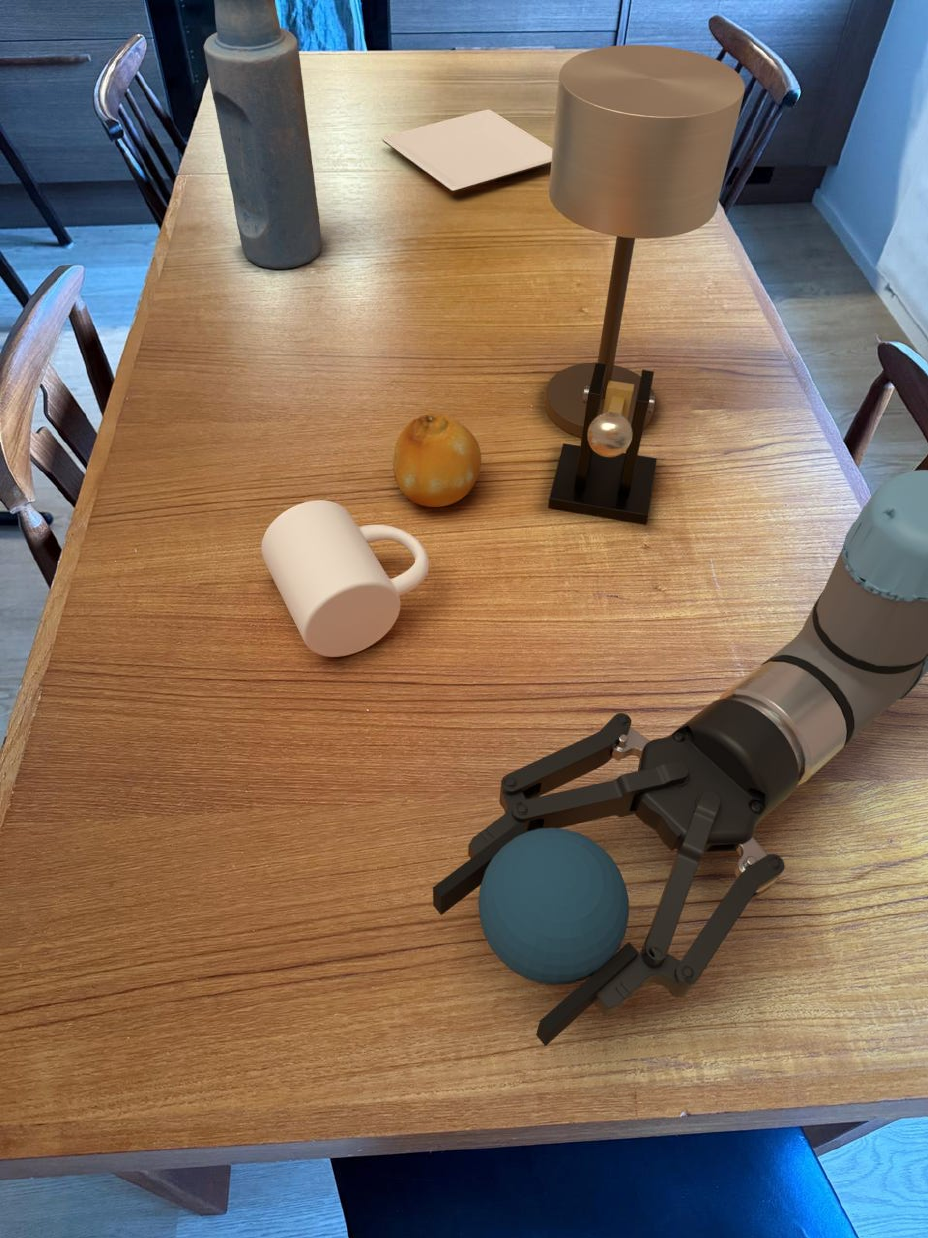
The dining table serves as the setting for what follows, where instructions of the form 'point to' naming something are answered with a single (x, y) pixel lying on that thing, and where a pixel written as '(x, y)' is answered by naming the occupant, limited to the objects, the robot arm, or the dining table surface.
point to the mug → (337, 576)
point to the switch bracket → (607, 464)
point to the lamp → (635, 172)
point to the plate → (470, 150)
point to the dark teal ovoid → (553, 906)
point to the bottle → (264, 133)
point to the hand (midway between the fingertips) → (487, 964)
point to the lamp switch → (612, 422)
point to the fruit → (436, 460)
